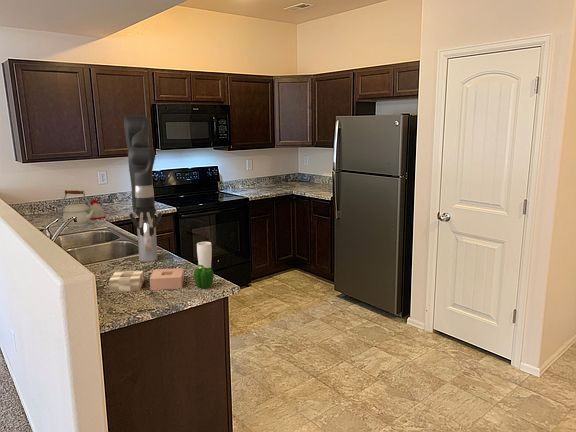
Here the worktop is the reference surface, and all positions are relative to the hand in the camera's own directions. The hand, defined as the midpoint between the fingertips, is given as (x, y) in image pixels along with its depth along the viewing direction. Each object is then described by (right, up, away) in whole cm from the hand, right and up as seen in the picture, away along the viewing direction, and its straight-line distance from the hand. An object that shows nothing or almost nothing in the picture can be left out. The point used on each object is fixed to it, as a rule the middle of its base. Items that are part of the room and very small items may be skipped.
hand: (147, 235), depth 190 cm
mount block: (-10, -22, +3) cm, 24 cm away
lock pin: (0, -6, +1) cm, 6 cm away
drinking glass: (+21, -19, +19) cm, 34 cm away
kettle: (-90, +2, +131) cm, 159 cm away
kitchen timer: (-89, +6, +155) cm, 178 cm away
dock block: (+7, -22, +6) cm, 23 cm away
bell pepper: (+24, -22, +2) cm, 33 cm away
